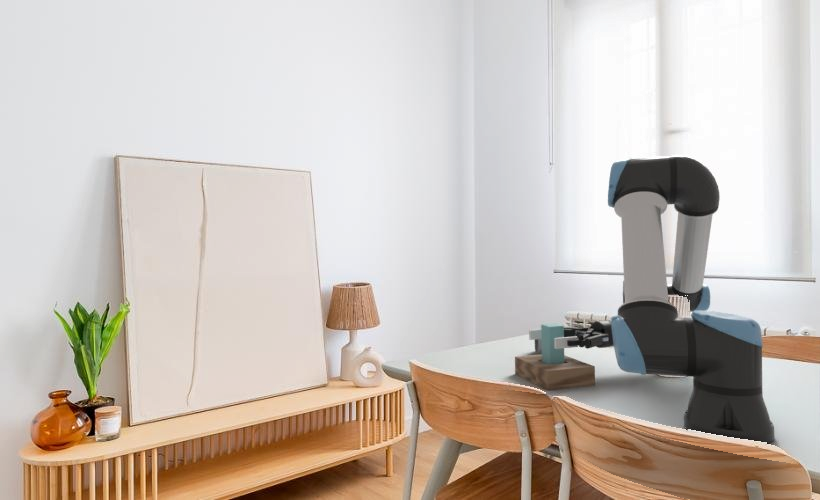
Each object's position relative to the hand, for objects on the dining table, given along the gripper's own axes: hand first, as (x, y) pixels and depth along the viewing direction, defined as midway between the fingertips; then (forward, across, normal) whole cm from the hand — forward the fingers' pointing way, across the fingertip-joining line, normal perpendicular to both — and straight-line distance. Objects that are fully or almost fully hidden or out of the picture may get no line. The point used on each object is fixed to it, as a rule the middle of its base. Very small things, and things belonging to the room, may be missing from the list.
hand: (541, 339), depth 143 cm
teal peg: (-3, 0, -10) cm, 11 cm away
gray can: (-19, +31, -12) cm, 39 cm away
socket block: (-3, 0, -11) cm, 12 cm away
